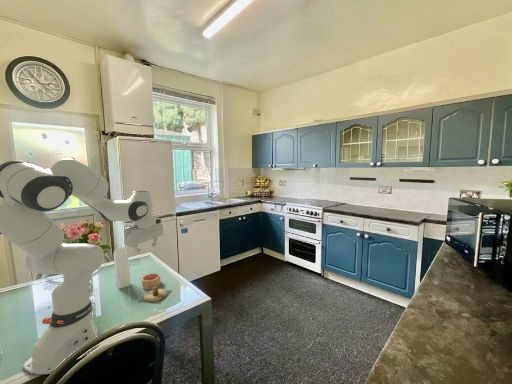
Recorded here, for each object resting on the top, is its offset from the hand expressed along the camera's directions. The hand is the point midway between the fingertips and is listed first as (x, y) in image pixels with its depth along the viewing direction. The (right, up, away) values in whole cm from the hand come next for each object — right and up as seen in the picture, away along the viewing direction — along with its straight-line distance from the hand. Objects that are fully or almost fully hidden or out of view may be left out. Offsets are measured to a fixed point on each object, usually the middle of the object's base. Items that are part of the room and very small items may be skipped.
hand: (146, 249), depth 119 cm
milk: (-20, -24, +15) cm, 35 cm away
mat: (+4, -25, +3) cm, 26 cm away
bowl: (-4, -24, +14) cm, 28 cm away
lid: (+4, -25, +3) cm, 25 cm away
